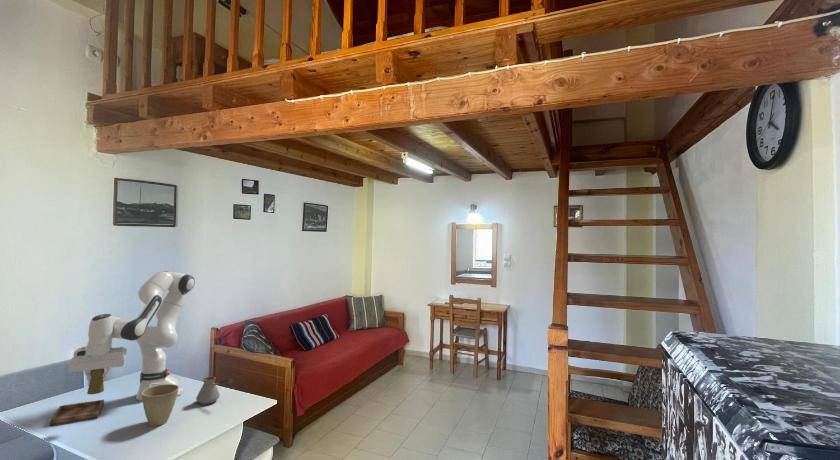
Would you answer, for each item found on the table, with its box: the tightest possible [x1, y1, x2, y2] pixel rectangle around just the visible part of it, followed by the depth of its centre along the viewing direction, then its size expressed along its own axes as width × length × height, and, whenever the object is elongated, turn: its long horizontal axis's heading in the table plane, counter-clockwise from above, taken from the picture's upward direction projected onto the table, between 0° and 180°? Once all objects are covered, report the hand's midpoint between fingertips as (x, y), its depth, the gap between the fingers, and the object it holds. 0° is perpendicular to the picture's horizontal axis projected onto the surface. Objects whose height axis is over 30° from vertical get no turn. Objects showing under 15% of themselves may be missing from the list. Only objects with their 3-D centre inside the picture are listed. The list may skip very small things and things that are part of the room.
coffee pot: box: [195, 376, 232, 406], centre depth 201 cm, size 21×12×15 cm, turn 72°
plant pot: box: [141, 384, 180, 427], centre depth 177 cm, size 15×15×16 cm
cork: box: [86, 368, 106, 395], centre depth 171 cm, size 6×6×11 cm
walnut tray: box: [49, 399, 105, 427], centre depth 181 cm, size 17×17×3 cm
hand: (96, 378), depth 171 cm, fingers closed on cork, 4 cm apart
